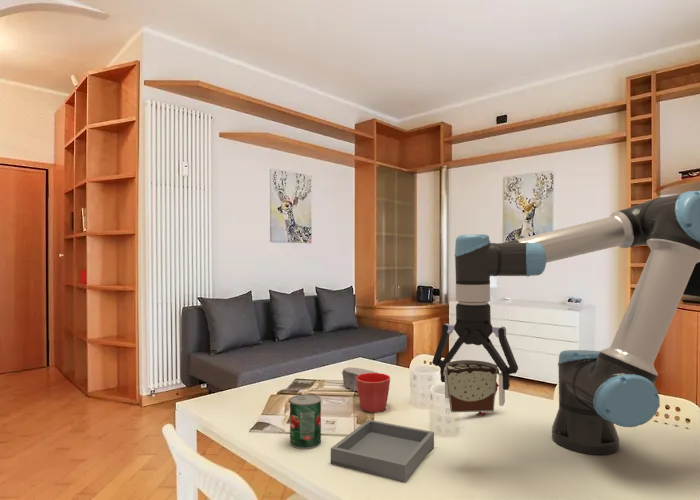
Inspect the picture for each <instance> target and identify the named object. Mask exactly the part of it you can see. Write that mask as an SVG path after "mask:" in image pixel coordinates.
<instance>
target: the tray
mask: <svg viewBox="0 0 700 500" xmlns="http://www.w3.org/2000/svg"><path fill="white" fill-rule="evenodd" d="M434 447H435V432H434V431H429V430H425V429H421V428H420V429H419V428H415V427H410V426H409V427H408V426H403V425H398V424H394V423H388V422H383V421H378V420H377V421H376V420H374V419H373V420H372V419H368V420H365V422H363V423H362V424H361V425H359V426H358V427H356V428H355V429H354V430H353V431H351V432H350V433H349V434H348V435H346V436H345V437H343V438H342V439H341V440H339V441H338V442H337V443H336V444H334V445H333V446H332V447H330V464H331V465H335V466H338V467H342V468H346V469H351V470H354V471H358V472H362V473H367V474H370V475H374V476H379V477H382V478H386V479H391V480H395V481H398V482H399V481H400V482H403V483H406V482H407V481H408V479H409V478H410V477H411V476H412V474H413V473H414V472H415V471H416V470H417V468H418V467H419V466H420V465H421V464H422V462H423V461H424V460H425V458H426V457H427V456H428V454H429V453H430V452H431V451H432V449H433V448H434Z"/></svg>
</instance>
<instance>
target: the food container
mask: <svg viewBox="0 0 700 500" xmlns="http://www.w3.org/2000/svg"><path fill="white" fill-rule="evenodd" d="M445 372H446V375H447V384H448V393H449V398H448V400H449V409H450V412H451V413H479V412H485V413H486V412H489V413H490V412H494V411H495V401H496V399H495V398H496V395H495V391H496V382H497V378H498V376H499V374H500V373H501V372H500V369H499V368H498V366H497V365H496V363H492V362H488V361H483V360H474V359H473V360H471V359H464V360H463V359H462V360H451V361H450V362H449V363H447V364H446V366H445V368H444V373H443V375H444V376H445Z"/></svg>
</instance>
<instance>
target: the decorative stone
mask: <svg viewBox="0 0 700 500" xmlns="http://www.w3.org/2000/svg"><path fill="white" fill-rule="evenodd" d="M341 372H342V373H341V374H342V381H343V386H344V387H345V388H346V389H347V388H349V389H348V390H350V389H352V390H351V391H353V390H355V391H354V392H356V391H357V392H356V393H358V388H357V382H356V377H357V376H358V375H360V374H364V373H379V372H377V371H373V370H369V369H365V368H359V367H350V366H349V367H345V368H343V369H342V371H341Z"/></svg>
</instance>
